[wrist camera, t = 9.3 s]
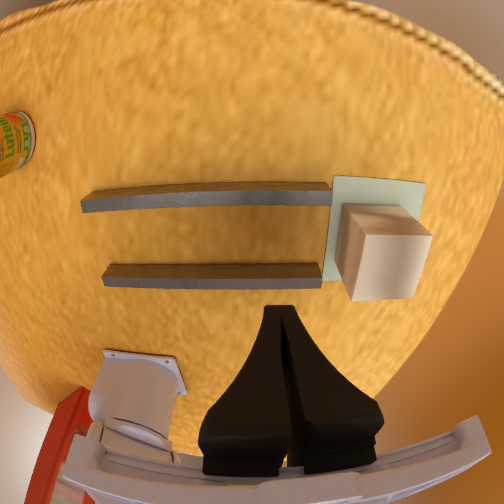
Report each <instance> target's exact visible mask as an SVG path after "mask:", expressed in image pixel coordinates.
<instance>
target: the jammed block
mask: <svg viewBox="0 0 504 504" xmlns="http://www.w3.org/2000/svg"><path fill="white" fill-rule="evenodd" d="M432 238H433V235H432V234H431V233H430V232H429V231H427V230H426V229H425V228H424V227H423V226H422V225H421V224H420V223H419V222H418V221H417V220H416V219H415V218H414V217H412V216H411V215H410V214H409V213H408V212H407V211H406V210H405V209H403V208H402V207H401V206H388V205H369V204H344V203H343V206H342V214H341V222H340V229H339V236H338V243H337V250H336V256H335V264H336V266H337V268H338V271H339V273H340V275H341V278H342V280H343V283H344V285H345V287H346V290H347V292H348V295H349V297H350V300H351V302H357V301H373V300H387V299H400V298H412V297H413V296H414V293H415V290H416V288H417V285H418V282H419V279H420V276H421V273H422V270H423V267H424V264H425V261H426V258H427V255H428V251H429V248H430V245H431V241H432Z"/></svg>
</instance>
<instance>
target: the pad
mask: <svg viewBox="0 0 504 504" xmlns="http://www.w3.org/2000/svg"><path fill="white" fill-rule="evenodd" d="M425 186H426V183H421V182H412V181H403V180H393V179H382V178H370V177H357V176H340V175H333V187H332V191H333V200H332V206H331V208H330V217H329V226H328V234H327V243H326V250H325V258H324V265H323V272H322V277H323V279H322V281H329V280H342V278H341V275H340V273H339V271H338V268H337V266H336V264H335V256H336V250H337V243H338V236H339V229H340V222H341V214H342V206H343V203H344V204H369V205H388V206H401V207H402V208H403V209H405V210H406V211H407V212H408V213H409V214H410V215H411V216H412V217H414V218H415V219H416V220H417V221H418V220H419V216H420V212H421V207H422V202H423V197H424V192H425Z"/></svg>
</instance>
